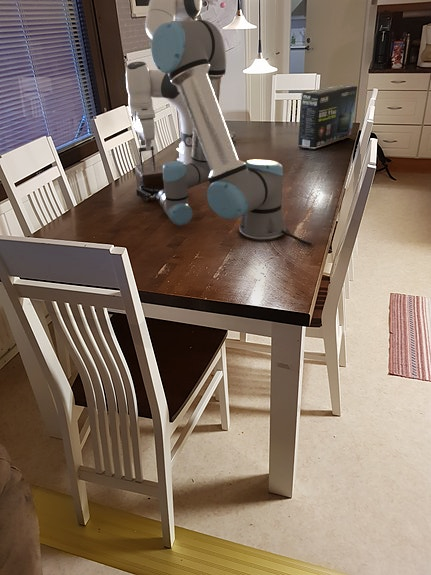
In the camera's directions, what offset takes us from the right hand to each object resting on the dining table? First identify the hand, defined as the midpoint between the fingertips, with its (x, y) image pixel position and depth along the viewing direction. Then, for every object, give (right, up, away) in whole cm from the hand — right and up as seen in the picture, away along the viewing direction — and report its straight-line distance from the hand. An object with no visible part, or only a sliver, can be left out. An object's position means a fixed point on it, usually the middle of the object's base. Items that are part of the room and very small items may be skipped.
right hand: (154, 182), depth 178 cm
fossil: (+26, +40, +77) cm, 90 cm away
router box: (+82, +36, +66) cm, 112 cm away
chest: (-1, -3, +7) cm, 7 cm away
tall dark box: (-2, +5, +2) cm, 6 cm away
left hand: (-4, +14, +1) cm, 15 cm away
